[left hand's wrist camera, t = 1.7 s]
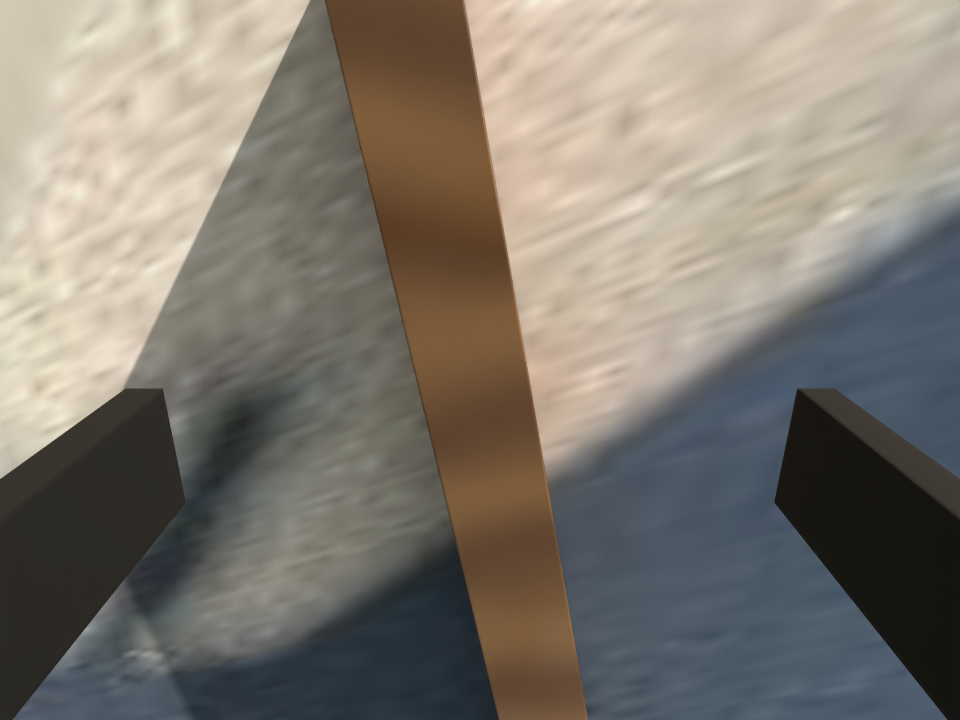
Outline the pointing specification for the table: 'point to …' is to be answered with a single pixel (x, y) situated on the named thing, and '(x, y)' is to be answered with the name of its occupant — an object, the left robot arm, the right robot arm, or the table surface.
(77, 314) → the table surface
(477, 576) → the beam
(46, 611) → the left robot arm
